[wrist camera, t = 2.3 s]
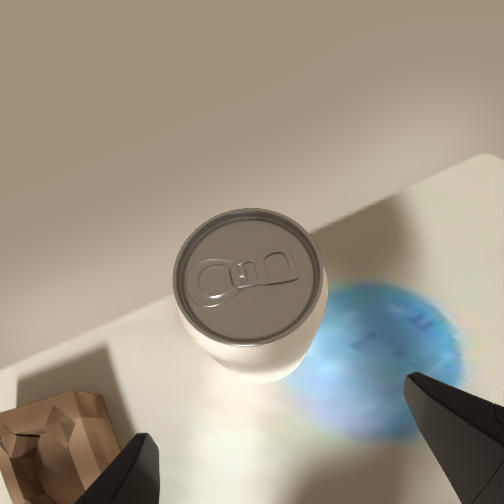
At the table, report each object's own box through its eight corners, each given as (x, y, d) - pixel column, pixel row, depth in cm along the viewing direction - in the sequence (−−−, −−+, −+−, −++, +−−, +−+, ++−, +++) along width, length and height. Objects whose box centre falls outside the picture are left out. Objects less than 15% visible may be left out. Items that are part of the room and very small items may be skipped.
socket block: (156, 524, 15) (134, 540, 12) (55, 530, 14) (29, 538, 10) (101, 395, 20) (72, 389, 17) (15, 420, 19) (-14, 416, 15)
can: (211, 309, 23) (156, 220, 13) (294, 289, 24) (304, 185, 13) (228, 392, 20) (173, 375, 10) (317, 370, 20) (359, 330, 10)
